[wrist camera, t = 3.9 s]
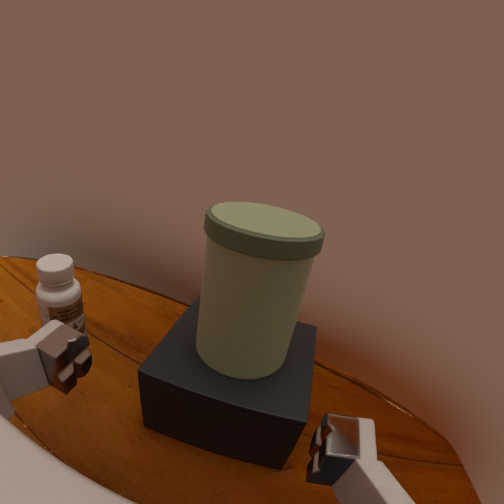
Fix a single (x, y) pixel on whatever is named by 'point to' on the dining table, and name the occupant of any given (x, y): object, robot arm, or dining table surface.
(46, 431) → the dining table surface
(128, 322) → the dining table surface
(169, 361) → the dark grey square box
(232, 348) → the lidded cream canister
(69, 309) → the pill bottle
